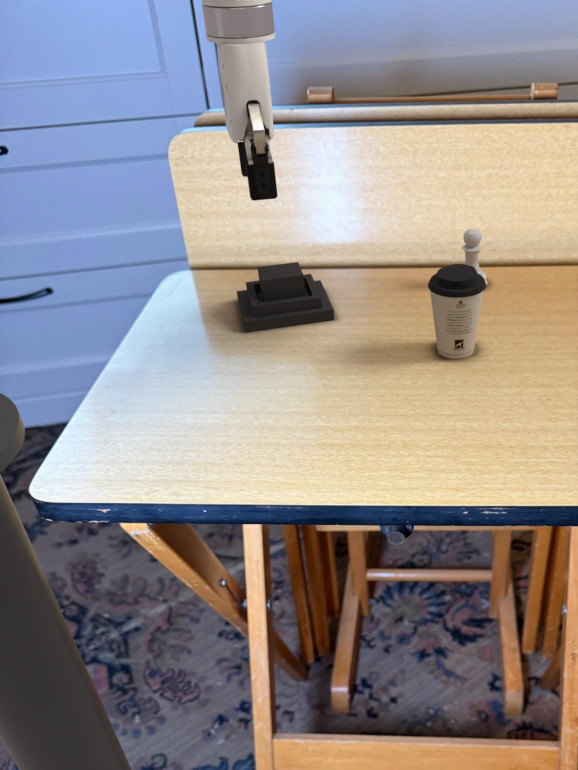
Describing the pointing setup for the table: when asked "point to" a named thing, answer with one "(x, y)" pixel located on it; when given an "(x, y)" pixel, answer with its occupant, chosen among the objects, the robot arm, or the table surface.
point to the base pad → (284, 307)
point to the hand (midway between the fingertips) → (259, 186)
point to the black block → (281, 281)
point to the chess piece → (473, 249)
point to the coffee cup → (456, 308)
